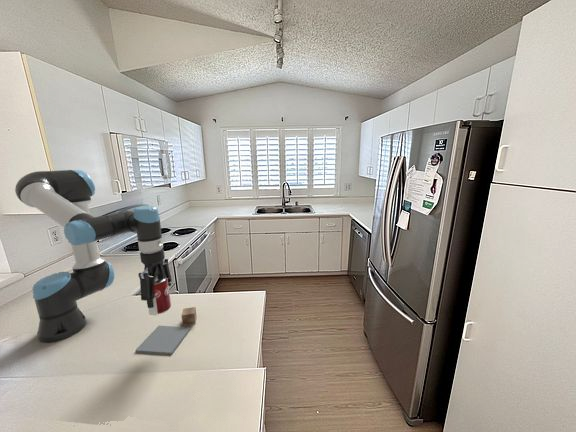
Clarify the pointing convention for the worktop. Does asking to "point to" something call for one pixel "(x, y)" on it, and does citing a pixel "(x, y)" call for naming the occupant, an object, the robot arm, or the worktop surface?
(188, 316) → the walnut block
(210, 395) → the worktop surface
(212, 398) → the worktop surface
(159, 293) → the soda can
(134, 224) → the robot arm
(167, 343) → the coaster
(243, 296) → the worktop surface
